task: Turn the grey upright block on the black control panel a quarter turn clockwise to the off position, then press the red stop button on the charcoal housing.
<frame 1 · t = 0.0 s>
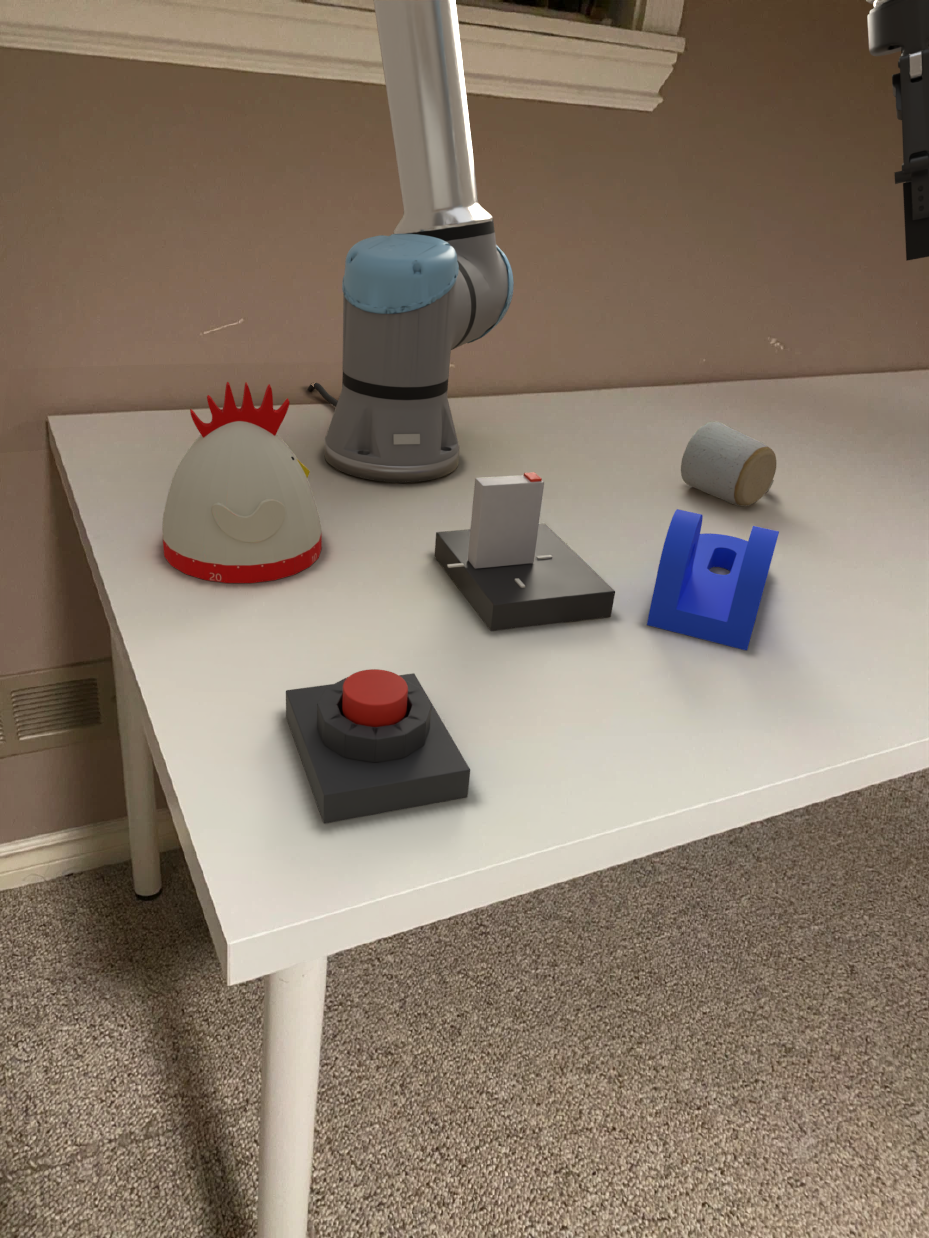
hand: (923, 249, 90), 28 cm above the table, tool tilted 20°, fingers open, 13 cm apart
stop housing: (372, 755, 61), on the table
bracket: (712, 594, 85), on the table
stop button: (375, 698, 59), point 4 cm above the table, slide at 0.1 cm
grey upright block: (505, 520, 80), point 6 cm above the table, hinge at 90.0°
ceramic mug: (727, 495, 108), on the table
kitchen timer: (243, 549, 86), on the table
control panel: (518, 585, 83), on the table
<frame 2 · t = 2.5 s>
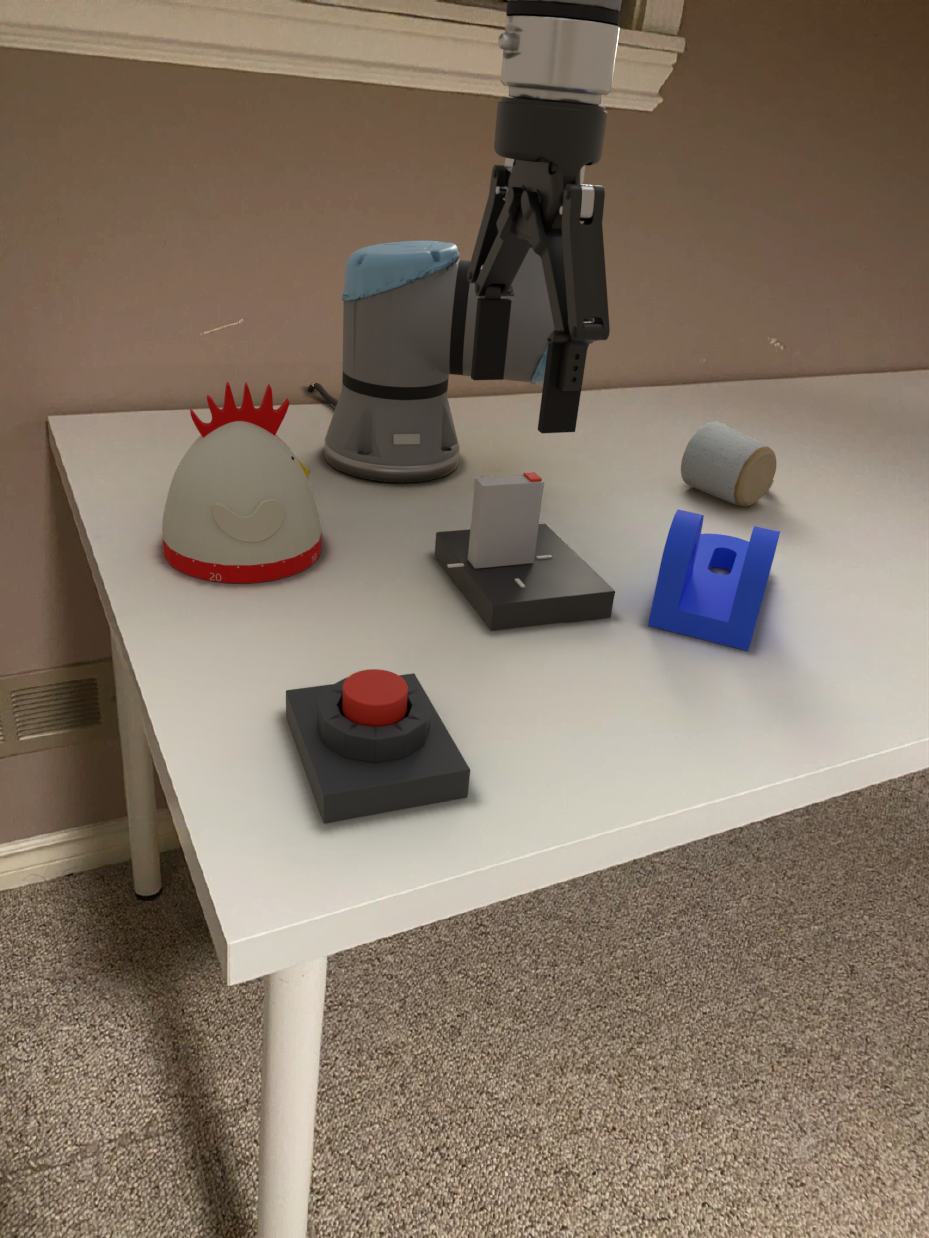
hand: (519, 403, 75), 16 cm above the table, tool pointing down, fingers open, 13 cm apart
nothing on the table moved.
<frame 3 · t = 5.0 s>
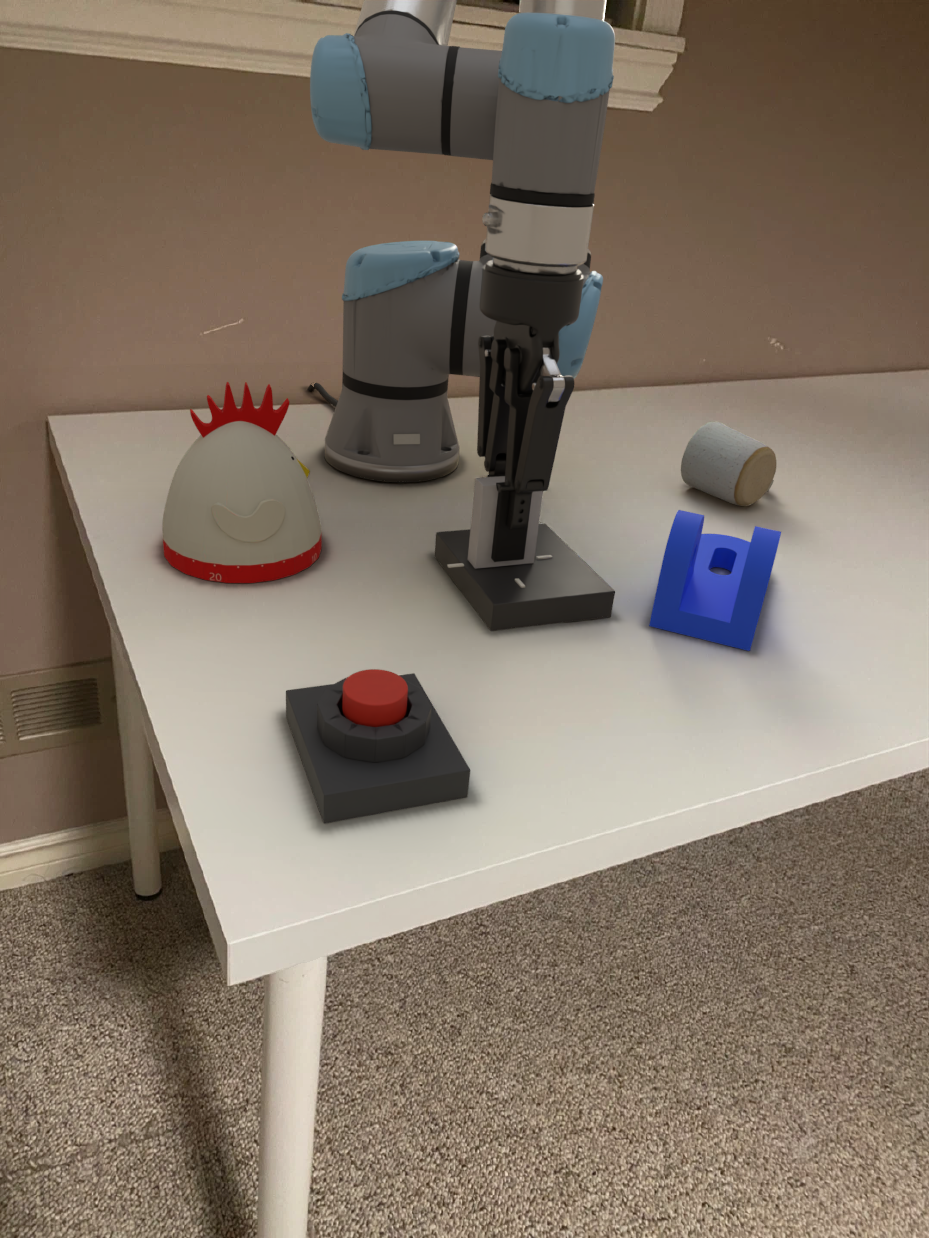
hand: (501, 551, 81), 3 cm above the table, tool pointing down, fingers closed on grey upright block, 2 cm apart
grey upright block: (505, 520, 80), point 6 cm above the table, hinge at 90.0°, touching gripper
everything else where it was.
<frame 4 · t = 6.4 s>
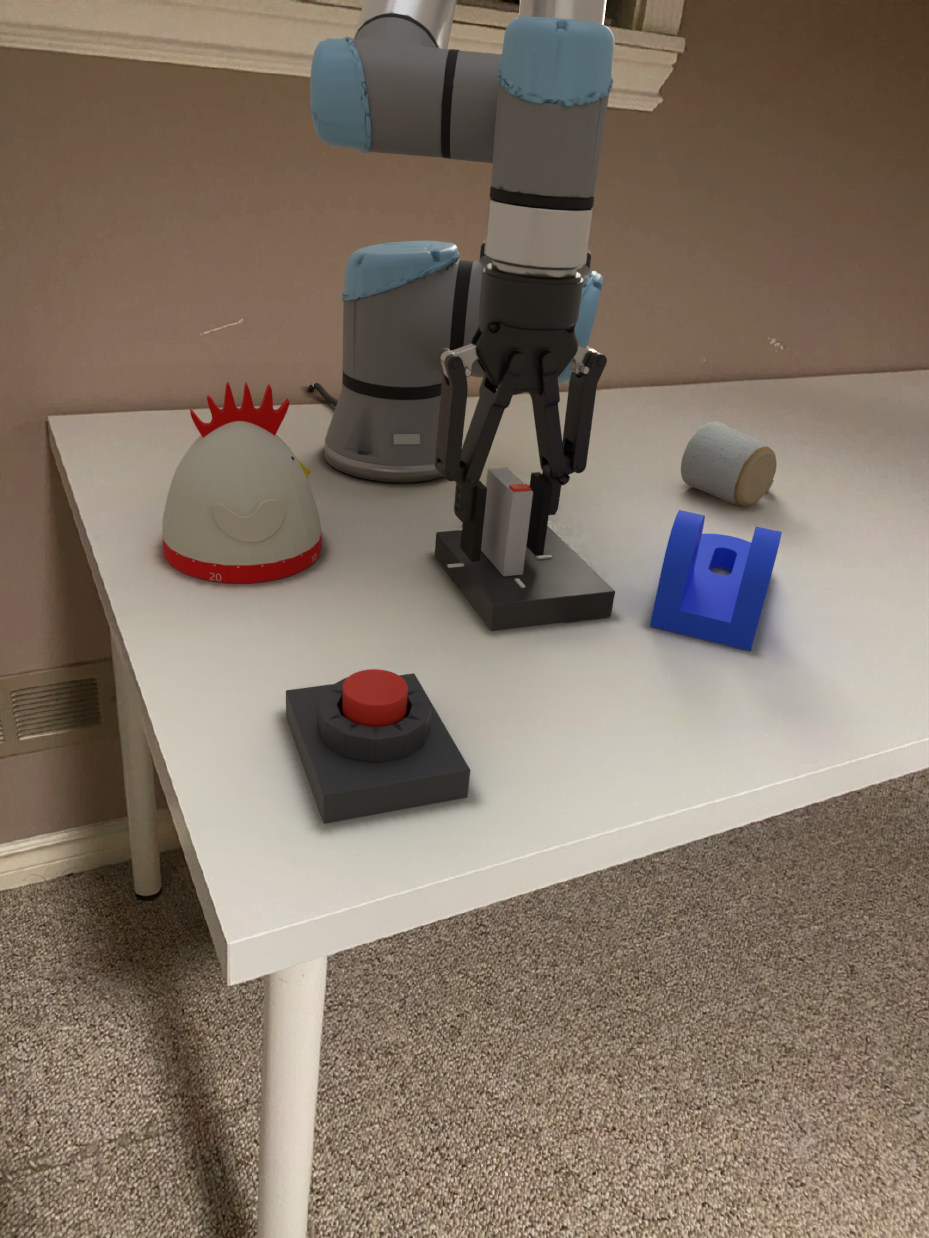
hand: (501, 551, 81), 4 cm above the table, tool pointing down, fingers open, 5 cm apart
grey upright block: (505, 520, 80), point 6 cm above the table, hinge at -0.1°
everything else where it was.
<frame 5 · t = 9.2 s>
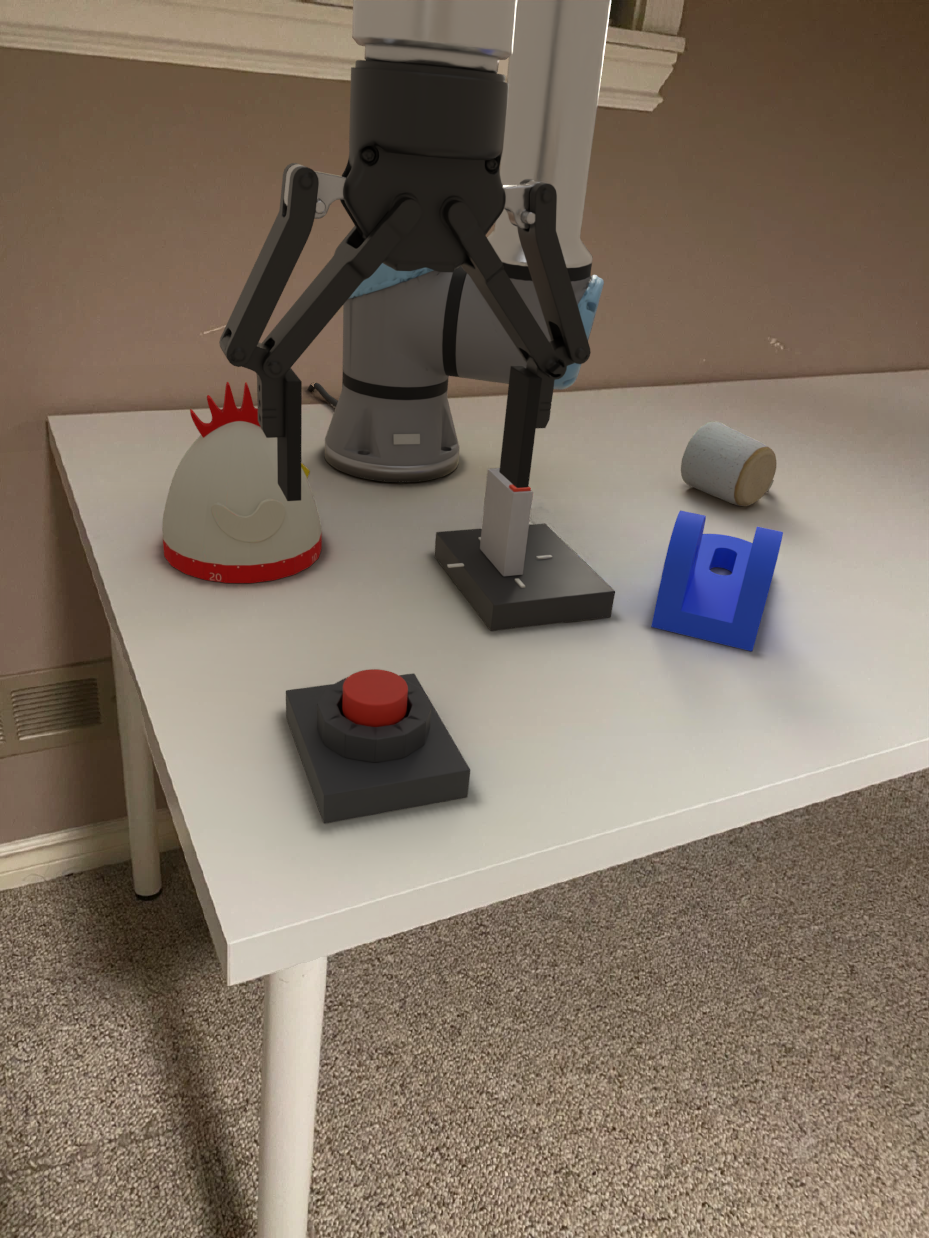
hand: (406, 486, 55), 18 cm above the table, tool pointing down, fingers open, 13 cm apart
nothing on the table moved.
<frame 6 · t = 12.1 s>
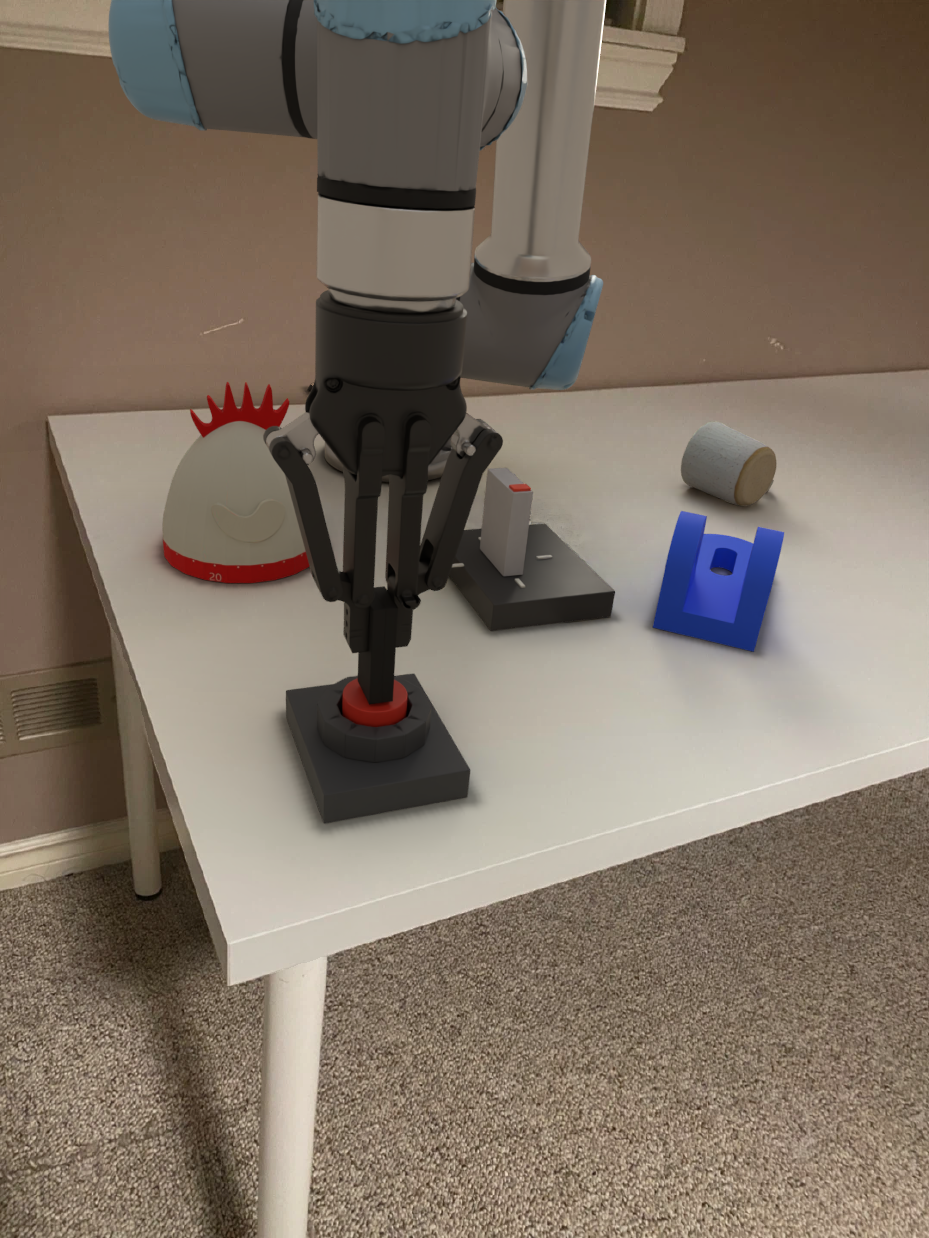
hand: (374, 690, 58), 5 cm above the table, tool pointing down, fingers closed
stop button: (374, 704, 59), point 4 cm above the table, slide at -0.4 cm, touching gripper
everything else where it was.
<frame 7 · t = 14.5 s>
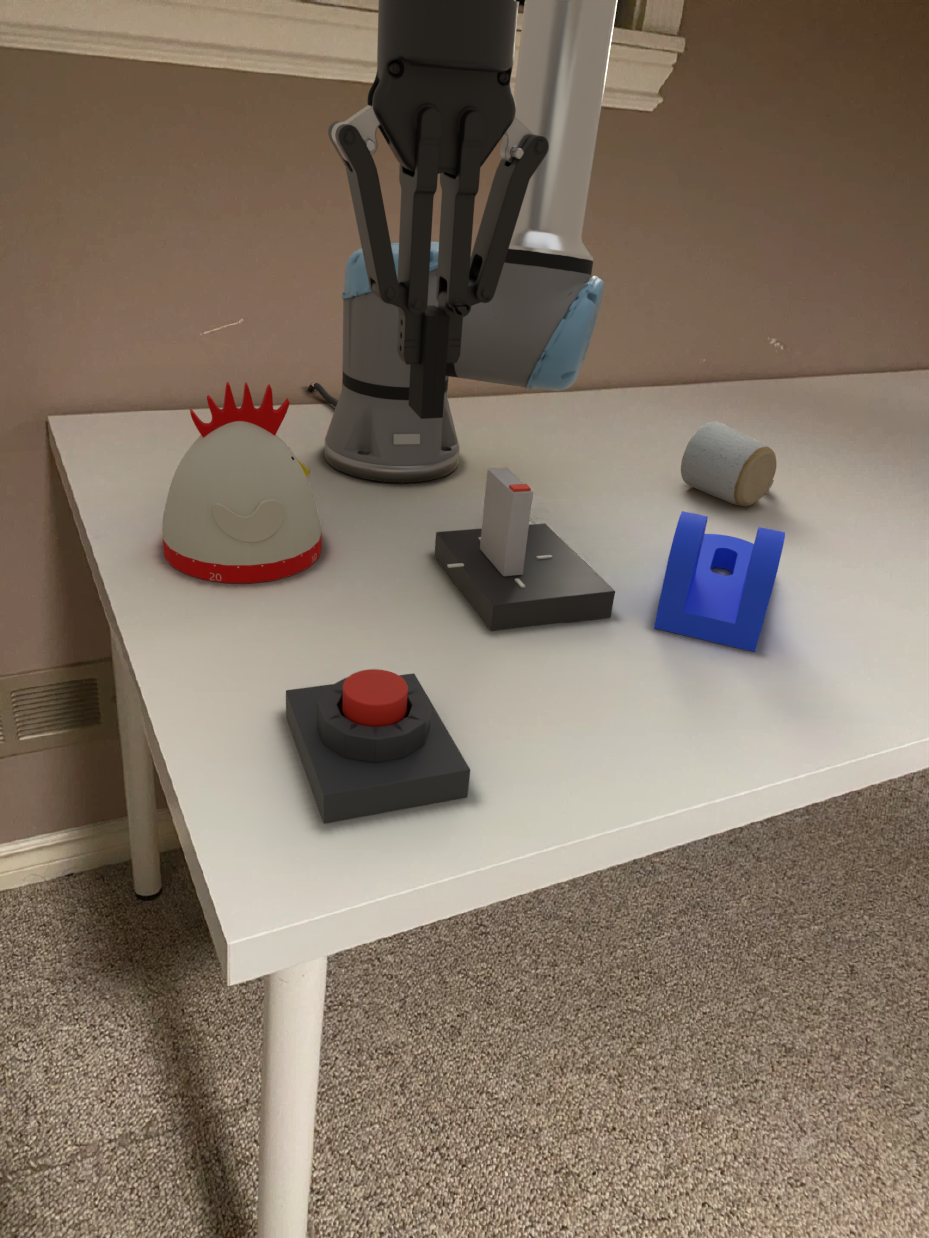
hand: (425, 411, 62), 19 cm above the table, tool pointing down, fingers closed
stop button: (375, 698, 59), point 4 cm above the table, slide at 0.1 cm
everything else where it was.
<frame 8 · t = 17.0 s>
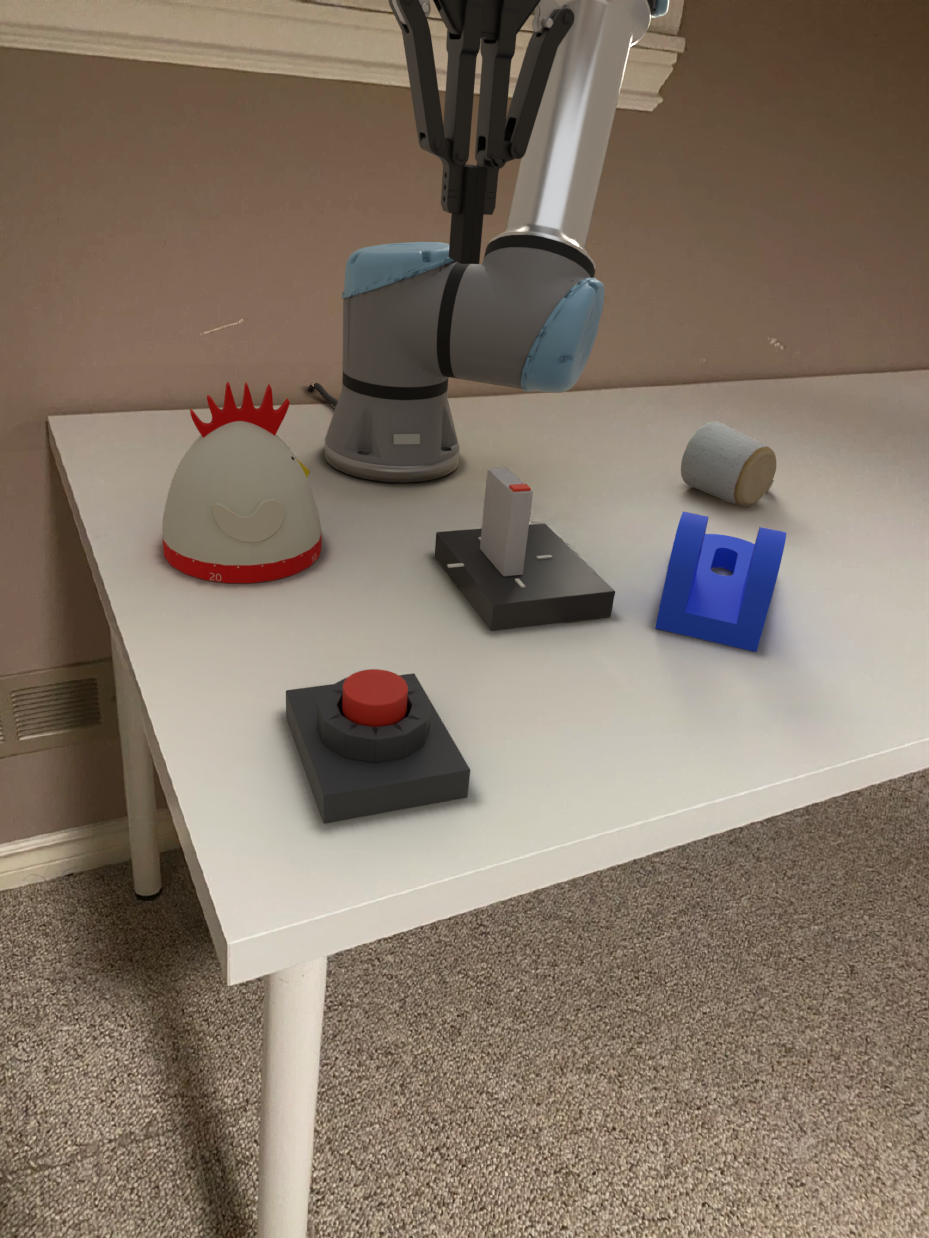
hand: (463, 260, 72), 26 cm above the table, tool pointing down, fingers closed
nothing on the table moved.
at the end: grey upright block at +0° (first picture: +90°); stop button pushed in 1.0 cm at the most during the clip, back to where it started at the end; stop button slide at 0.1 cm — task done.
